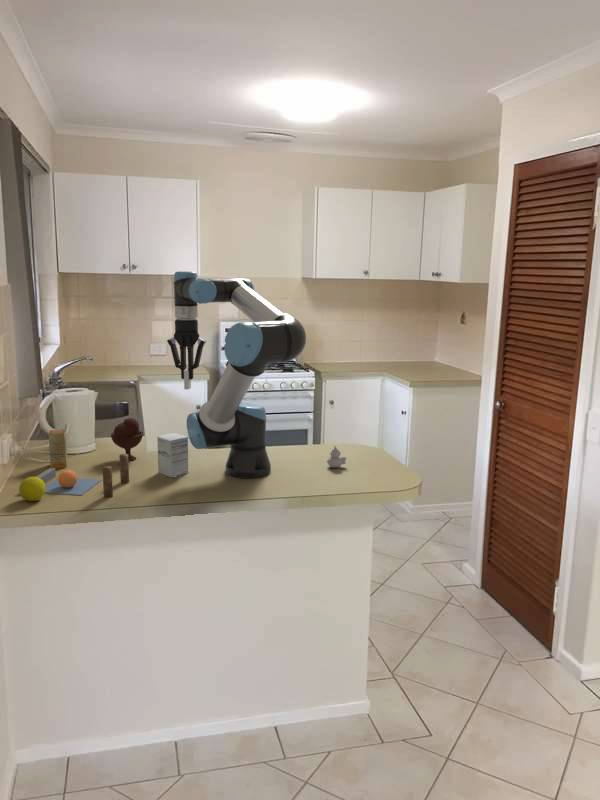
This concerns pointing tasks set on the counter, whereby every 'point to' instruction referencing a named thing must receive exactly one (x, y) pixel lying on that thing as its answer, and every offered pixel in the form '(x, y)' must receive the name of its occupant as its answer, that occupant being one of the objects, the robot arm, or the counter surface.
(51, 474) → the blue-grey rod
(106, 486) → the left post
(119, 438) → the ice cream bowl
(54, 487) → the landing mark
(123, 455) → the right post
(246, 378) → the robot arm
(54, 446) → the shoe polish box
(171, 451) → the supplement box
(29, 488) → the tennis ball
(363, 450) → the counter surface
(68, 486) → the ball
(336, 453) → the grey figurine
